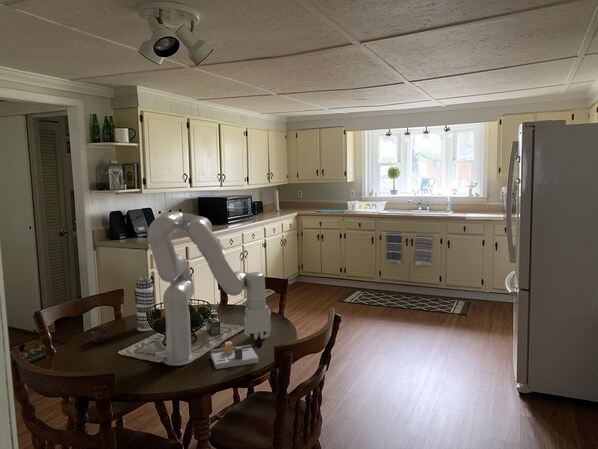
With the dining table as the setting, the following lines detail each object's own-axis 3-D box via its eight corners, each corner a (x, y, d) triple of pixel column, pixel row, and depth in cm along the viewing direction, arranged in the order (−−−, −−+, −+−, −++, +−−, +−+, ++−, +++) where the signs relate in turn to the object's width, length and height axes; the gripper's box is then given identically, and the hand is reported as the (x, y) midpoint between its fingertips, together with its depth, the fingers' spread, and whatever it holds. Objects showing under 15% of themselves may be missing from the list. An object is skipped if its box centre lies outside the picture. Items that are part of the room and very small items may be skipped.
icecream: (101, 334, 198) (115, 325, 213) (84, 330, 198) (99, 321, 213) (97, 349, 199) (111, 339, 214) (81, 345, 199) (96, 335, 214)
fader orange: (226, 354, 186) (226, 344, 186) (225, 351, 189) (225, 341, 189) (232, 353, 187) (232, 343, 187) (231, 350, 190) (231, 340, 190)
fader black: (236, 359, 181) (236, 349, 181) (234, 356, 184) (234, 346, 184) (242, 358, 182) (242, 348, 181) (240, 355, 185) (240, 345, 184)
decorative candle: (133, 327, 224) (130, 277, 221) (151, 323, 230) (149, 274, 227) (140, 332, 218) (137, 281, 214) (158, 328, 223) (156, 278, 220)
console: (215, 369, 178) (215, 361, 177) (211, 357, 189) (210, 350, 189) (258, 362, 184) (258, 355, 183) (251, 351, 195) (251, 344, 194)
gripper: (240, 308, 177) (242, 354, 179) (277, 303, 182) (278, 347, 184) (235, 303, 184) (238, 347, 186) (271, 298, 189) (273, 341, 191)
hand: (258, 347), depth 185 cm, fingers closed
